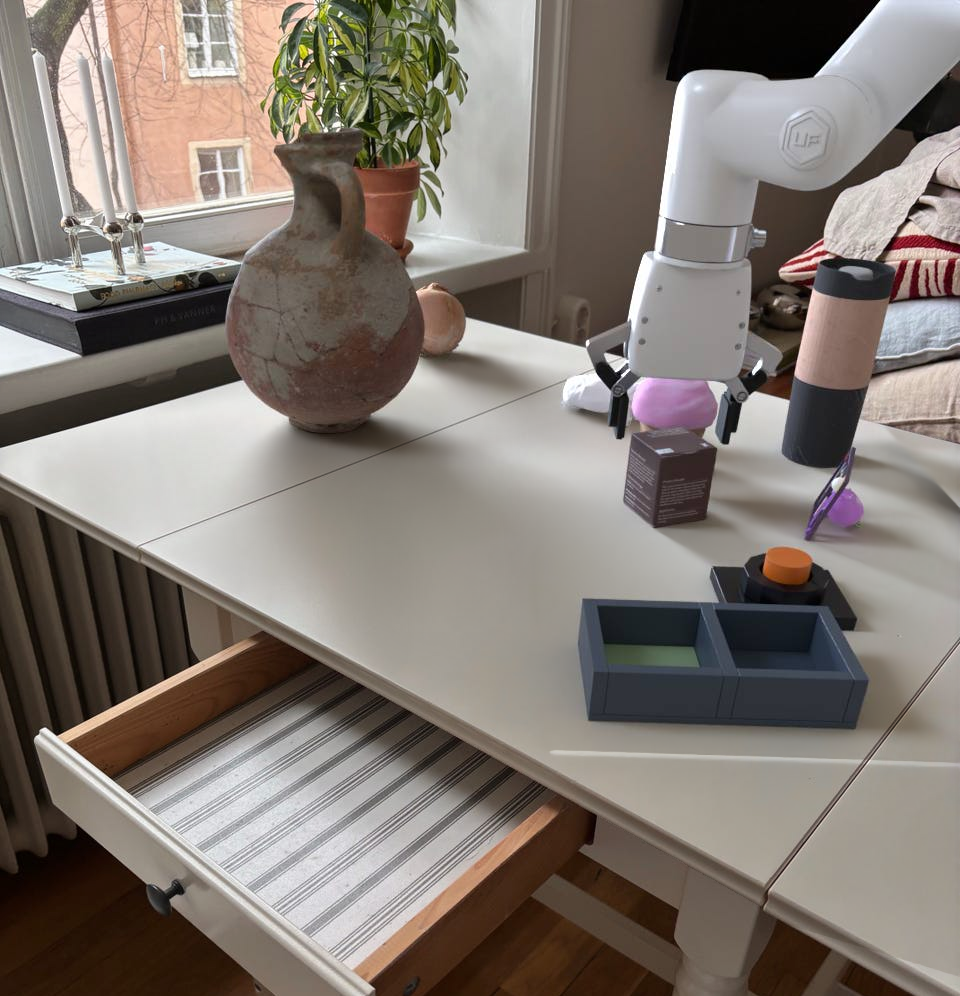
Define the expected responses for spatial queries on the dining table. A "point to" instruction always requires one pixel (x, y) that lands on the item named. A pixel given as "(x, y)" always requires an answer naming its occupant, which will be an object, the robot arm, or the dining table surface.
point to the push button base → (781, 589)
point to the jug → (324, 299)
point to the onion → (441, 320)
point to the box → (669, 476)
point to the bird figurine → (593, 394)
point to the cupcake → (674, 405)
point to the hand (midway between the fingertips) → (669, 436)
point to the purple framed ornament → (837, 499)
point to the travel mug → (836, 359)
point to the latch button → (787, 565)
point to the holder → (718, 664)
